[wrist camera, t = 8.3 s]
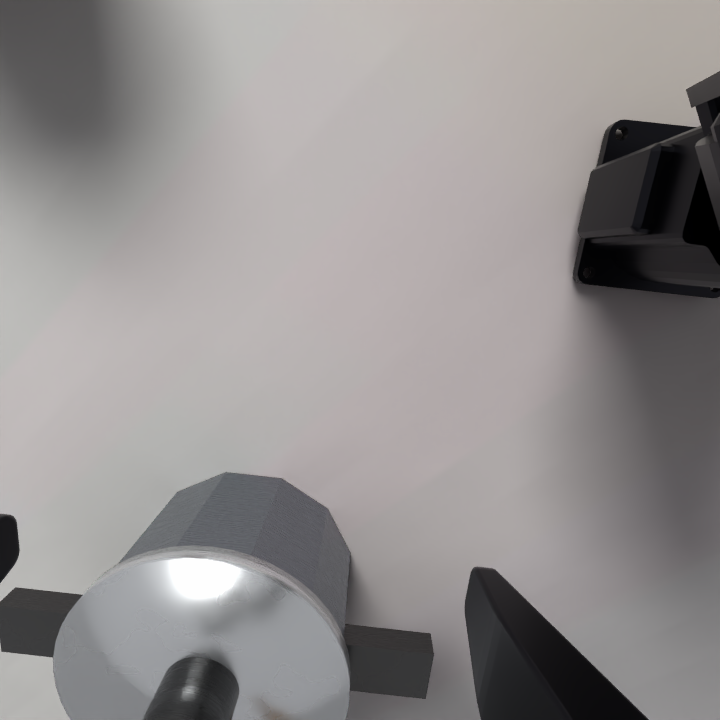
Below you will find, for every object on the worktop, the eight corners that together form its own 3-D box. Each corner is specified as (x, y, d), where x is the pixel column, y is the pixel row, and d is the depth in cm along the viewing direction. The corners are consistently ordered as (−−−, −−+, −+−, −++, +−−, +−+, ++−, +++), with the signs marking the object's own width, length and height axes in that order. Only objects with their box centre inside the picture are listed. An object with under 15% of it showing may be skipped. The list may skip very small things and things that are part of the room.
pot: (431, 495, 22) (452, 582, 16) (403, 661, 24) (413, 788, 19) (76, 455, 22) (-32, 528, 16) (87, 625, 24) (-3, 742, 19)
